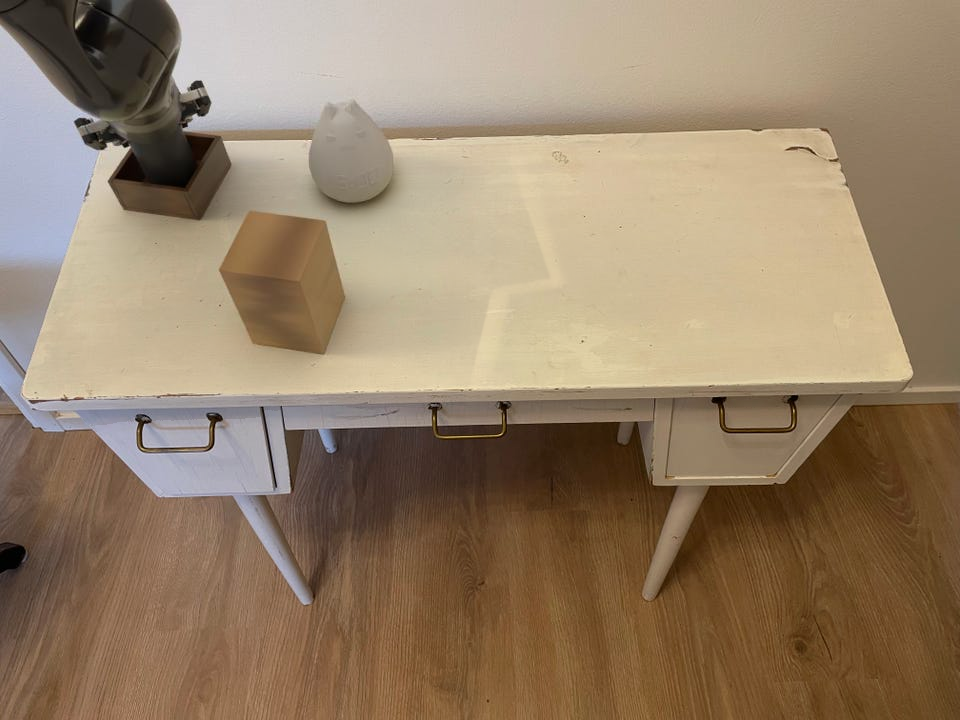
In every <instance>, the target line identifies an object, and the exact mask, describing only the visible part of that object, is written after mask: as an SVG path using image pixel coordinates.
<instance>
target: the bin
mask: <svg viewBox="0 0 960 720" xmlns="http://www.w3.org/2000/svg"><path fill="white" fill-rule="evenodd" d="M183 132H184V134H185V136H186V139H187V141H188V143H189V146H190V148H191V150H192V153H193V155H194V158H195V160H196V162H197V165H198V167H197V169H196V171H195V173H194V174H193V176H192V178H191V179H190V181H189V183H188V184H187V186H186V188H180V187H173V186H165V185H158V184H150V183H149V182H148V180H147V178H146V176H145V174H144V172H143V170H142V168H141V166H140V164H139V162H138V160H137V158H136V156H135V154H134V152H133V150H132V148H131V147H130V148H129V149H128V150H127V152H126V153H125V155H124V156H123V158H122V159H121V161H120V162H119V164H118V165H117V166H116V168H115V170H114V171H113V173H112V174H111V175H110V177H109V178H108V180H107V183H108V185H109V187H110V189H111V190H112V192H113V194H114V196H115V198H116V199H117V201H118V203H119V205H120V206H121V208H122V210H123V211H132V212H137V213H138V212H140V213H144V214H145V213H147V214H153V215H161V216H168V217H176V218H182V219H183V218H184V219H190V220H197V221H201V220H202V218H203V216H204V215H205V213H206V211H207V210H208V208H209V206H210V204H211V202H212V200H213V199H214V197H215V195H216V193H217V191H218V189H219V188H220V186H221V185H222V183H223V180H224V179H225V177H226V175H227V174H228V172H229V170H230V168H231V167H232V162H231V159H230V156H229V154H228V151H227V148H226V146H225V143H224V141H223V138H222V135H217V134H209V133H202V132H201V133H200V132H193V131H184V130H183Z"/></svg>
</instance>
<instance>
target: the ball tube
mask: <svg viewBox="0 0 960 720" xmlns="http://www.w3.org/2000/svg"><path fill="white" fill-rule="evenodd" d="M183 131H184V128H182V126H181V125H179V126H178V127H177V128H176V130H175V131H174V132H173V133H172V134H171V135H170V136H169V137H168V138H166V139H165V140H163V141H160V142H157V143H153V144H140V143H135V142H128V143H129V145H130V146H129V147H130V148H132V150H133V152H134V154H135V156H136V158H137V160H138V162H139V164H140V166H141V168H142V170H143V172H144V174H145V176H146V178H147V180H148V182H149V183H150V184H158V185H165V186H173V187H180V188H186V186H187V184H188V183H189V181H190V179H191V178H192V176H193V174H194V173H195V171H196V169H197V167H198V165H197V162H196V160H195V158H194V155H193V153H192V150H191V148H190V146H189V143H188V141H187V139H186V136H185V134H184V132H183Z"/></svg>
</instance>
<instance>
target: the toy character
mask: <svg viewBox="0 0 960 720" xmlns="http://www.w3.org/2000/svg"><path fill="white" fill-rule="evenodd" d="M317 121H318V122H317V123H316V126H315V129H314V132H313V135H312V138H311V142H310V146H309V150H308V168H309V172H310V174H311V178H312V180H313V181H314V183H315V184H316V186H317V187H318V188H319V190H320V191H321V192H322V193H323V194H324V195H326V196H327V197H329V198H331V199H334V200H335V201H339V202H341V203H342V202H343V203H351V204H352V203H361V202H366V201H368V200H372V199H373V198H375V197H376V196H378V195H379V194H380V193H382V192H383V191H384V190H385V188H387V186H388V185H389V183H390V182H391V180H392V176H393V172H394V167H395V162H394V152H393V150H392V146H391V145H390V142H389V140H388V138H387V137H386V136H385V134H384V133H383V132H382V130H381V129H380V127H379V126H378V124H377V123H376V121H374V119H373V118H372V117H371V116H370V115H369V114H368V113H367V112H366V111H365V110H364V109H363V108H362V107H361V106H360V105H359V104H358V102H357V101H356V100H355V98H351V99H349V100H348V101H347V102H346V101H345V102H336V103H334V104H333V103H331V102H329V101H328V102H325V103H324V107H323V109H322V112H321V115H320V117H319V120H317Z"/></svg>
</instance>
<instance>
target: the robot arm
mask: <svg viewBox="0 0 960 720" xmlns="http://www.w3.org/2000/svg"><path fill="white" fill-rule="evenodd" d="M0 27H1V28H2V29H3V30H4V31H5V32H7V33H8V35H9V36H10V37H11V38H12V39H13V40H14V41H15V42H16V43H17V44H18V45H19V47H21V48H22V49H23V51H24V52H25V53H26V54H27V55H28V56H29V58H30V59H31V60H32V61H33V63H34V64H35V65H36V67H38V69H39V70H40V71H41V73H42V74H43V75H44V76H45V77H46V79H47V80H48V81H49V82H50V84H51V85H52V86H53V87H54V88H55V89H56V90H57V91H58V92H59V94H61V95H62V96H63V97H64V98H65V99H66V100H68V102H70V103H71V104H72V105H73V106H75V107H76V108H77V109H79V110H80V111H82V112H84V113H85V114H86V115H89V116H92V117H93V118H96V119H98V120H96V121H94V119H93V118H92V117H91V118H86V117H78V118H76V119H75V120H73V123H74V125H75V127H76V129H77V131H78V133H79V135H80V138H81V140H82V141H83V143H84V145H85V146H87V147H89V148H91V149H94V150H96V151H105V150H106V149H107V148H108V147H109V146H108V144H110V143H112V145H113V146H114V147H120V146H122V147H123V148H124V149H126V148H129V147H130V145H129V143H128V142H135V143H140V144H153V143H157V142H160V141H163V140H165V139H166V138H168V137H169V136H170V135H171V134H172V133H173V132H174V131H175V130H176V128H177V127H178V126H179V125H181V127H182V129H185V128H189V123H192V122H193V120H194V118H193V116H194V115H197V117H199V118H200V117H202V118H203V117H206V115H208V114H209V112H210V109H211V106H212V100H211V98H210V96H209V93H208V91H207V89H206V87H205V85H204V82H203V80H194V81H193V82H192V83H191V84H190V86H187V87H186V92H183V93H181V92H180V89H179V87H178V86H177V83H176V81H175V79H174V76H173V72H174V69H175V68H176V64H177V61H178V57H179V53H180V51H181V46H182V39H183V38H182V35H183V34H182V29H181V25H180V22H179V20H178V17H177V15H176V13H175V11H174V10H173V7H171V5H170V4H169V2H168V1H167V0H0Z"/></svg>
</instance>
